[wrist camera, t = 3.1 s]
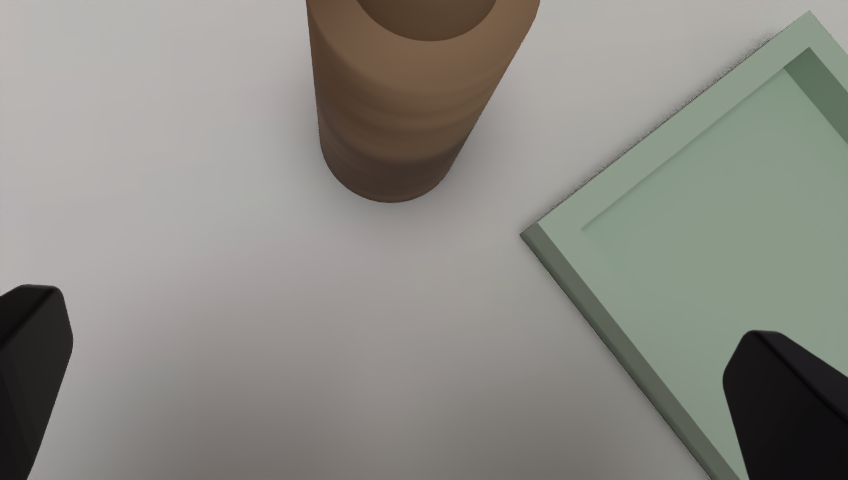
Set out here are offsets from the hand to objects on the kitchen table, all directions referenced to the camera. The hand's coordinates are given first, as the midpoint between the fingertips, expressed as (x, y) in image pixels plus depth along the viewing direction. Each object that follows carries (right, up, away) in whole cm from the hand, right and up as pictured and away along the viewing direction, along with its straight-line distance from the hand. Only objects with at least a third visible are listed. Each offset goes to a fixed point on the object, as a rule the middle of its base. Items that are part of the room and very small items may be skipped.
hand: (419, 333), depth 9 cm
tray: (+12, 0, +15) cm, 19 cm away
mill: (-1, +5, +14) cm, 15 cm away
